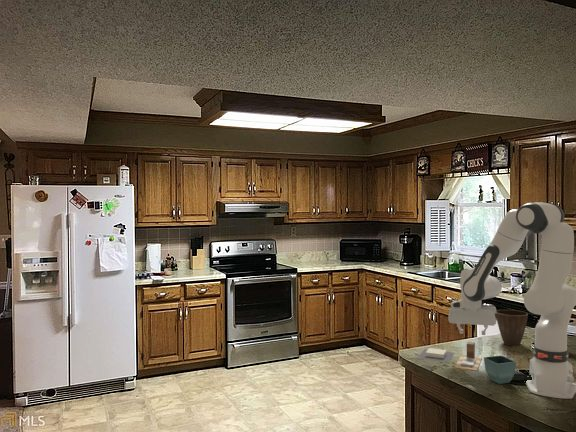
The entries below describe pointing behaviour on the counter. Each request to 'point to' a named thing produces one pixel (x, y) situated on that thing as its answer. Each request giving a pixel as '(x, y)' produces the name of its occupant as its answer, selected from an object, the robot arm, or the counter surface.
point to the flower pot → (499, 369)
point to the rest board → (474, 368)
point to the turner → (469, 355)
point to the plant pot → (511, 325)
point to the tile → (436, 353)
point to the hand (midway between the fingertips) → (472, 334)
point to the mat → (446, 359)
